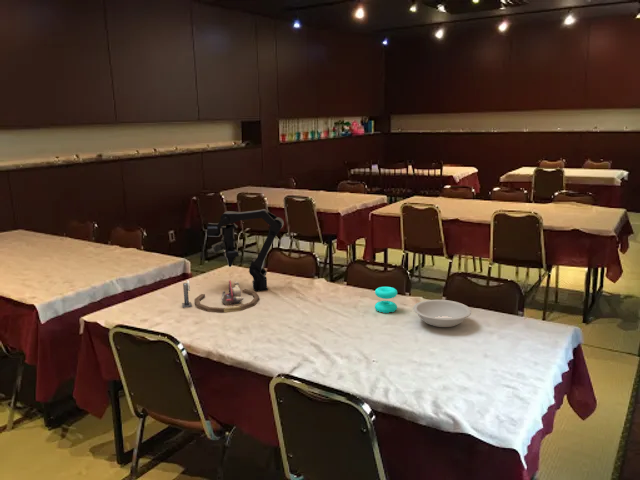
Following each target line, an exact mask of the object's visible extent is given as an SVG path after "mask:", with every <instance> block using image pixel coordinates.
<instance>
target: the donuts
mask: <svg viewBox="0 0 640 480" xmlns="http://www.w3.org/2000/svg"><path fill="white" fill-rule="evenodd" d="M374 294H375V296H376V297H378V298H380V299H384V300H380V301H378V302H376V303H375V305H374V309H375V310H376V311H377V312H378V311H379V312H378V313H381V312H383V313H382V314H390V313H389V312H392V313H395V312H396V311H397V309H398V306H397V304H396V303H395V302H393V301H391V300H390V299H394V298H395V297H397V295H398V290H397V289H396V288H395V287H393V286H392V287H391V286H379V287H377V288H376V289H375V290H374ZM395 310H396V311H395Z"/></svg>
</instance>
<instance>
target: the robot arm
mask: <svg viewBox="0 0 640 480" xmlns="http://www.w3.org/2000/svg"><path fill="white" fill-rule="evenodd" d="M254 219H263V221H264V222H265V223H266V224H267V225H269V229H268V234H267V236H266V238H265V239H264V243H263V245H262V247H261V250H260V251H259V252H258V255H257V258H255V257H254V258H253V259H252V260H251V263H250V265H249V266H248V273H249V274H250V276H251V277H252V278H253V280H252V288H253V291H254V292H264V291H268V290H269V289H268V283H267V281H268V278H267V273H268V272H267V270H266V269H265V268H264V264H265V259H266V258H267V255H268V253H269V251H270V249H271V247H272V245H273V243H274V240H275V238H276V236H277V235H278V234H279V232H280V231H281V230H282V228H283V227H284V225H285V224H284V223H285V222H284V219H283V218H282V217H278V216H276V214H273V213H271V212H270V211H268V210H267V209H265V208H262V209H257V210H247V211H232V210H231V211H230V210H229V211H228V210H227V211H225V212H224V213H222V214H221V215H220V221H219V222H218V223H212V222H208V223H207V228H206V235H207V237H212V238H213V237H215V238H217V237H221V235H222V238H221V241H218V242H217V243H214V244H212V245H211V248H212V250H213V252H214V254H216V253H218V252H221V251H222V254H223V256H224V257H225V258H226V260H227V264H228V267H229V268H230V267H232V265H233V263H234V261H235V258H237V257H239V252H238V250H237V249H236V245H235V242H236V238H235V229H238V227H239V226H238V225H237V224H236V222H239V221H247V220H254ZM224 225H225V226H224Z"/></svg>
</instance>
